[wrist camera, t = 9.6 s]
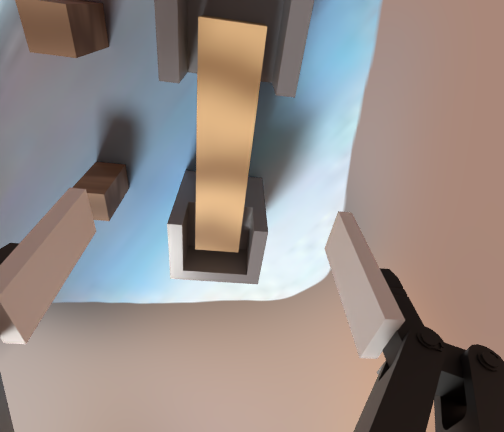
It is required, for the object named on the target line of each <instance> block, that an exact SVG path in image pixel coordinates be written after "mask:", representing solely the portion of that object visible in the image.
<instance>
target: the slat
mask: <svg viewBox="0 0 504 432" xmlns="http://www.w3.org/2000/svg"><path fill="white" fill-rule="evenodd" d="M266 34H267V26H266V25H265V24H262V23H255V22H248V21H241V20H234V19H227V18H220V17H214V16H207V15H202V16H199V17H198V73H197V149H196V225H195V249H197V250H211V251H225V252H238V250H239V243H240V235H241V227H242V219H243V212H244V204H245V196H246V188H247V181H248V173H249V165H250V157H251V150H252V142H253V134H254V127H255V119H256V111H257V103H258V96H259V88H260V80H261V72H262V65H263V57H264V49H265V41H266Z"/></svg>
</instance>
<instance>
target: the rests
mask: <svg viewBox="0 0 504 432" xmlns="http://www.w3.org/2000/svg"><path fill="white" fill-rule="evenodd" d="M15 1H16V5H17V8H18V12H19V15H20V19H21V22H22V26H23V29H24V33H25V37H26V40H27V44H28V47H29V51H30V52H34V53H42V54H50V55H57V56H65V57H73V58H78V57H81V56H84V55H87V54H90V53H92V52H95V51H98V50H101V49H104V48H107V47H109V44H108V37H107V30H106V23H105V16H104V9H103V4H102V3H96V2H89V1H82V0H15ZM73 188H78V189H86V192H87V196H88V200H89V204H90V208H91V212H92V216H93V220H103V221H110V219H111V217H112V216H113V214H114V212H115V211H116V209H117V208H118V206H119V204H120V203H121V201H122V199H123V198H124V196H125V194H126V193H127V191H128V189H129V186H128V179H127V172H126V165H125V164H114V163H104V162H95V164H94V165H93V166H92V167H91V168H90V169H89V170H88V171H87V172H86V173H85V174H84V176H83V177H82V178H81V179H80V180H79V181H78V182H77V183H76V184H75V185H74V186H73Z"/></svg>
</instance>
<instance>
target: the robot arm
mask: <svg viewBox="0 0 504 432" xmlns="http://www.w3.org/2000/svg"><path fill="white" fill-rule="evenodd" d="M95 232H96V228H95V224H94V220H93V216H92V212H91V208H90V204H89V200H88V196H87V192H86V189H78V188H69V189H68V190H67V191H66V193H65V194H64V195H63V196H62V197H61V198H60V199H59V200H58V201H57V203H56V204H55V205H54V206H53V207H52V208H51V209H50V210H49V211H48V213H47V214H46V215H45V216H44V217H43V218H42V219H41V220H40V221H39V223H38V224H37V225H36V226H35V227H34V228H33V229H32V230H31V231H30V233H29V234H28V235H27V236H26V237H25V238H24V239H23V240H22V241H21V243H20V244H19V243H9V244H8V245H6V246H4V247H3V248H1V249H0V338H1V339H2V340H3V342H4V343H12V344H26V343H27V342H28V340H29V339H30V337H31V335H32V334H33V332H34V330H35V329H36V327H37V326H38V324H39V322H40V321H41V319H42V317H43V316H44V314H45V313H46V311H47V309H48V308H49V306H50V305H51V303H52V302H53V300H54V298H55V297H56V295H57V294H58V292H59V290H60V289H61V287H62V286H63V284H64V282H65V281H66V279H67V277H68V276H69V274H70V273H71V271H72V269H73V268H74V266H75V265H76V263H77V261H78V260H79V258H80V257H81V255H82V253H83V252H84V250H85V249H86V247H87V245H88V244H89V242H90V241H91V239H92V237H93V236H94V234H95ZM325 251H326V254H327V258H328V261H329V264H330V267H331V270H332V273H333V276H334V279H335V282H336V286H337V289H338V291H339V295H340V298H341V301H342V304H343V307H344V311H345V313H346V317H347V320H348V323H349V326H350V329H351V333H352V336H353V339H354V342H355V345H356V348H357V351H358V354H359V358H374V359H377V358H378V357H379V355H380V354H381V353H382V351H383V353H384V355H385V358H386V361H385V363H384V364H383V365H382V366H381V368H380V369H379V370H378V371H377V373H378V374H379V375H378V377H377V380H376V382H375V384H374V387H373V389H372V391H371V393H370V396H369V398H368V400H367V402H366V405H365V407H364V409H363V411H362V414H361V416H360V418H359V421H358V423H357V425H356V427H355V430H354V432H426V428H427V424H428V420H429V417H430V413H431V409H432V405H433V400H434V406H435V407H434V408H435V430H436V432H504V361H503V360H502V359H501V357H500V356H499V355H497V354H496V353H495V352H494V351H492V350H490V349H489V348H487V347H485V346H481V345H478V344H477V345H472V346H470V347H469V348H468V349H467V350H464V349H461V348H458V347H455V346H452V345H449V344H447V343H444V342H443V340H442V339H441V338H440V336H439V335H438V334H436V333H435V332H434V331H433V330H431V329H429V328H427V327H425V326H424V325H423V323H422V321H421V319H420V318H419V316H418V314H417V312H416V310H415V308H414V307H413V305H412V303H411V301H410V299H409V297H407V294H406V292H405V290H404V289H403V286H402V284H401V283H400V281H399V279H398V277H397V276H395V274H394V273H393V272H391V270H390V269H380V268H379V266H378V264H377V262H376V260H375V258H374V256H373V254H372V252H371V250H370V248H369V246H368V244H367V242H366V240H365V238H364V236H363V234H362V232H361V230H360V228H359V226H358V224H357V222H356V220H355V218H354V216H353V214H352V213H349V212H338V214H337V216H336V219H335V222H334V225H333V227H332V230H331V233H330V235H329V238H328V241H327V244H326V246H325ZM0 432H14V429H13V425H12V421H11V416H10V412H9V408H8V403H7V399H6V395H5V391H4V386H3V382H2V379H1V373H0Z"/></svg>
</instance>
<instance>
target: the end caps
mask: <svg viewBox="0 0 504 432" xmlns="http://www.w3.org/2000/svg"><path fill="white" fill-rule="evenodd" d="M154 3H155V21H156V38H157V55H158V73H159V81H165V82H173V83H180V81H181V80H182V79H183V78H184V76H185V75H186V74H187V72H191V73H198V17H199V16H202V15H207V16H214V17H220V18H227V19H234V20H241V21H248V22H255V23H262V24H265V25H266V26H267V34H266V41H265V49H264V57H263V65H262V72H261V80H260V81H262V82H269V83H272V85H273V88H274V91H275V94H276V95H278V96H286V97H294V98H295V94H296V89H297V84H298V79H299V74H300V69H301V64H302V59H303V54H304V49H305V44H306V39H307V34H308V29H309V24H310V19H311V14H312V9H313V3H314V0H154ZM195 225H196V171H186V170H185V173H184V176H183V179H182V182H181V185H180V188H179V191H178V194H177V197H176V200H175V203H174V206H173V209H172V211H171V214H170V217H169V220H168V223H167V229H168V246H169V263H170V279H185V280H200V281H216V282H231V283H247V284H258V280H259V275H260V270H261V265H262V260H263V255H264V250H265V245H266V240H267V235H268V227H267V218H266V208H265V199H264V190H263V180H262V178H258V177H248V181H247V188H246V196H245V204H244V212H243V219H242V227H241V235H240V243H239V250H238V252H225V251H211V250H197V249H195Z"/></svg>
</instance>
